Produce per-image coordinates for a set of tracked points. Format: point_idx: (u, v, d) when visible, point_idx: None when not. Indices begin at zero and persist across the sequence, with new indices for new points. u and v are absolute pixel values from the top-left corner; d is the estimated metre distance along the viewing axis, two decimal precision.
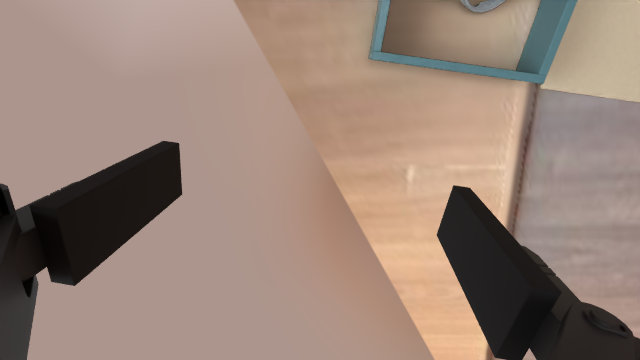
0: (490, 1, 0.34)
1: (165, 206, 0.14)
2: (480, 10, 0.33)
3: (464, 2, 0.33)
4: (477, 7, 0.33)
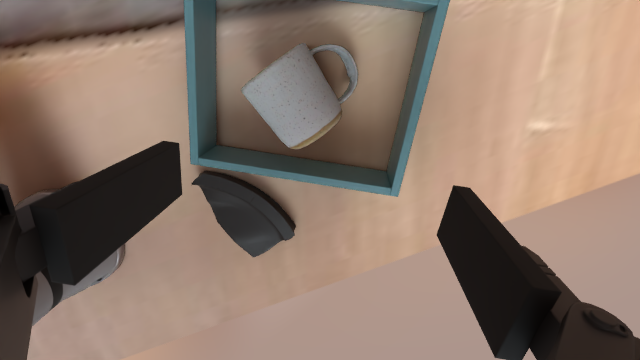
0: (347, 64, 0.31)
1: (165, 206, 0.14)
2: (356, 77, 0.31)
3: None
4: (352, 80, 0.31)
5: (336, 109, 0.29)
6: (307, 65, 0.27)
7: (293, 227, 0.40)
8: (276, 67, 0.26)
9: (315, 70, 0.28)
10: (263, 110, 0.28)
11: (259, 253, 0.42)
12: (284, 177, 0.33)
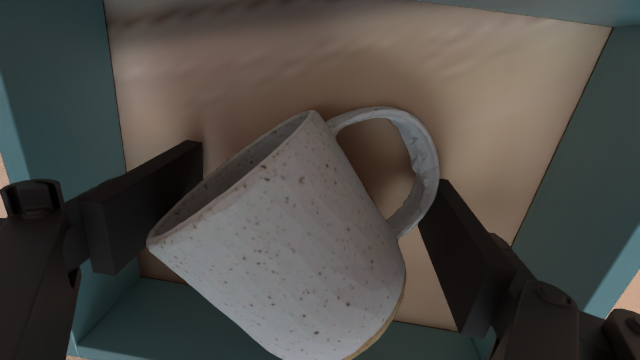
0: (413, 148, 0.14)
1: None
2: (435, 178, 0.13)
3: None
4: (427, 184, 0.13)
5: (397, 282, 0.11)
6: (326, 187, 0.09)
7: None
8: (226, 214, 0.08)
9: (347, 192, 0.10)
10: (205, 297, 0.10)
11: None
12: None
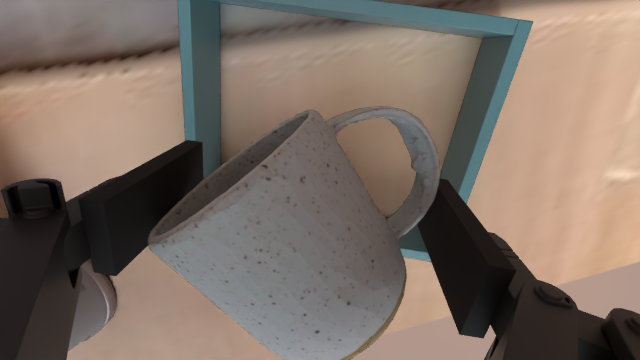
0: (414, 147, 0.14)
1: None
2: (435, 178, 0.13)
3: None
4: (427, 184, 0.14)
5: (398, 281, 0.11)
6: (327, 186, 0.09)
7: None
8: (227, 213, 0.08)
9: (347, 192, 0.10)
10: (206, 296, 0.10)
11: None
12: None
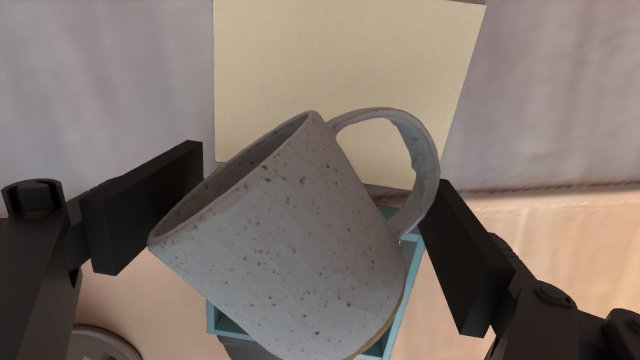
0: (414, 148, 0.14)
1: None
2: (436, 178, 0.13)
3: None
4: (427, 185, 0.13)
5: (398, 283, 0.11)
6: (327, 187, 0.09)
7: None
8: (227, 214, 0.08)
9: (347, 192, 0.10)
10: (205, 297, 0.10)
11: None
12: None
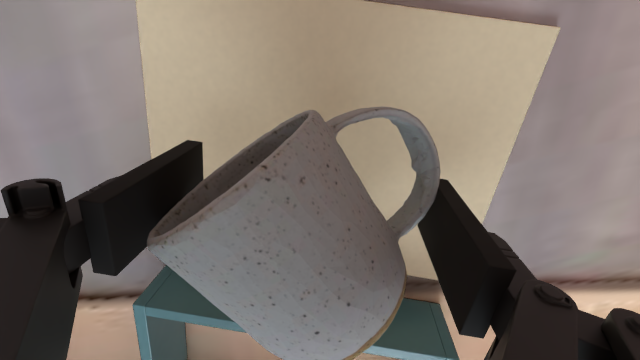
0: (414, 148, 0.14)
1: None
2: (436, 178, 0.13)
3: None
4: (427, 184, 0.13)
5: (398, 283, 0.11)
6: (327, 187, 0.09)
7: None
8: (227, 214, 0.08)
9: (347, 192, 0.10)
10: (205, 297, 0.10)
11: None
12: None
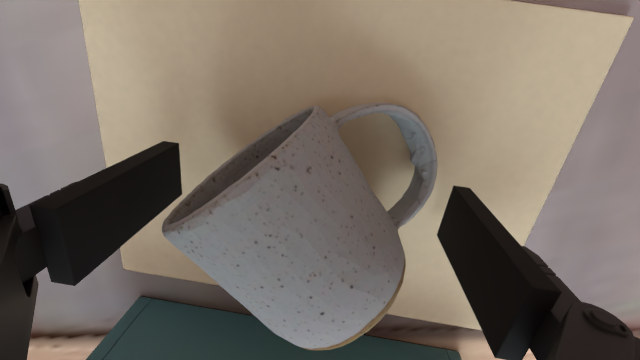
0: (412, 142, 0.14)
1: (165, 206, 0.14)
2: (433, 171, 0.14)
3: None
4: (425, 177, 0.14)
5: (398, 268, 0.12)
6: (331, 176, 0.10)
7: None
8: (240, 200, 0.09)
9: (350, 182, 0.11)
10: (216, 281, 0.11)
11: None
12: None
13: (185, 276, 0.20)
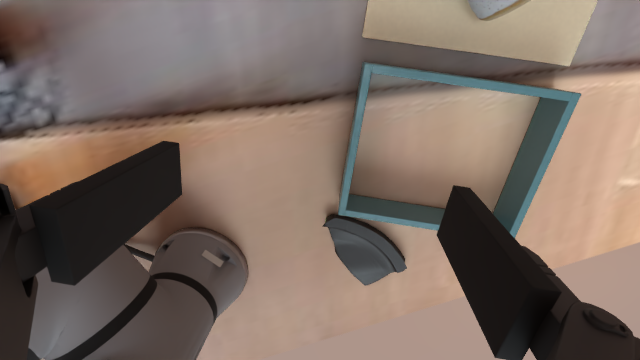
0: None
1: (165, 206, 0.14)
2: None
3: None
4: None
5: None
6: None
7: (403, 261, 0.47)
8: None
9: None
10: None
11: (371, 282, 0.49)
12: (417, 226, 0.39)
13: (399, 39, 0.35)
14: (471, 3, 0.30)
